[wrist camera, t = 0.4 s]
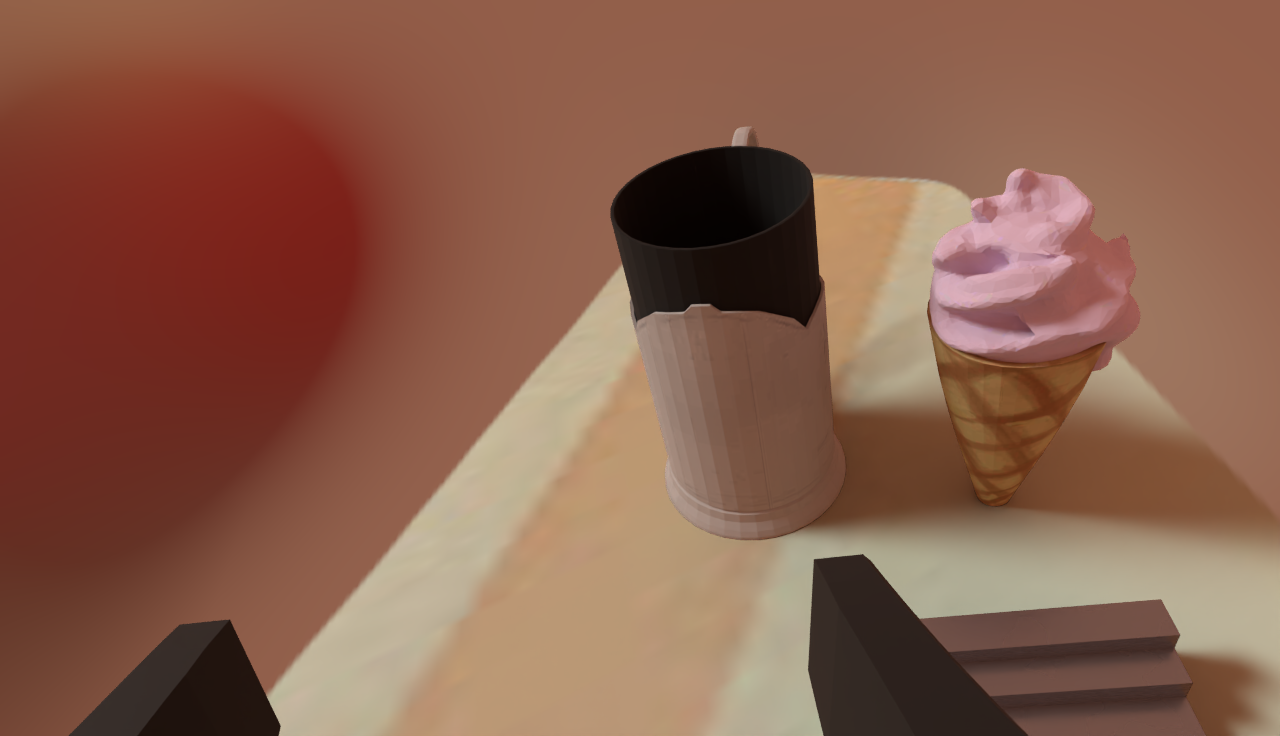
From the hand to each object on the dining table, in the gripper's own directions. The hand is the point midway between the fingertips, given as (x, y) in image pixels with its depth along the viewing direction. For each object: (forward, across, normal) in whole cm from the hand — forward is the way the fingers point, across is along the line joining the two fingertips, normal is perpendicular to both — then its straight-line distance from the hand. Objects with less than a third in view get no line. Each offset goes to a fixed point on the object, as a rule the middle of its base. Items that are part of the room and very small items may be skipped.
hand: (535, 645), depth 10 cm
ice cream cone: (+19, -17, +16) cm, 30 cm away
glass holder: (+26, -8, +16) cm, 32 cm away
